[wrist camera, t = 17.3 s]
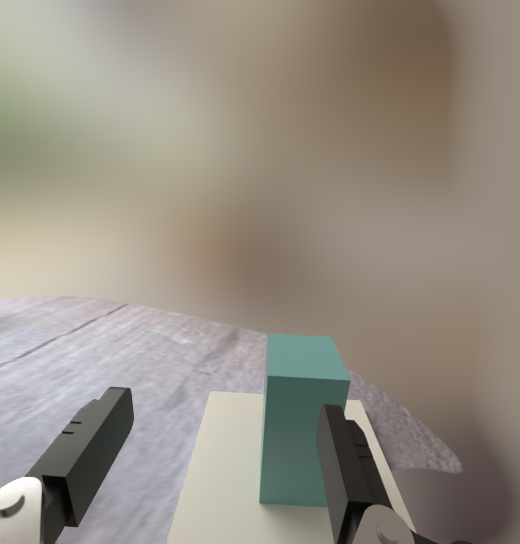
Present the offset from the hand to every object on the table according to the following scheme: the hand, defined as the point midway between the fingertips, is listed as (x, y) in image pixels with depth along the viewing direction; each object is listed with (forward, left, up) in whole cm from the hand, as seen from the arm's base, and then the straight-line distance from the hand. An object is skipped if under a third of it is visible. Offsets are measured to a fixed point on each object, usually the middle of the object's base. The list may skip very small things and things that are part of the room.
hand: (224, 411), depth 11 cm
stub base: (+9, +3, -16) cm, 19 cm away
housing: (+9, +3, -15) cm, 18 cm away
